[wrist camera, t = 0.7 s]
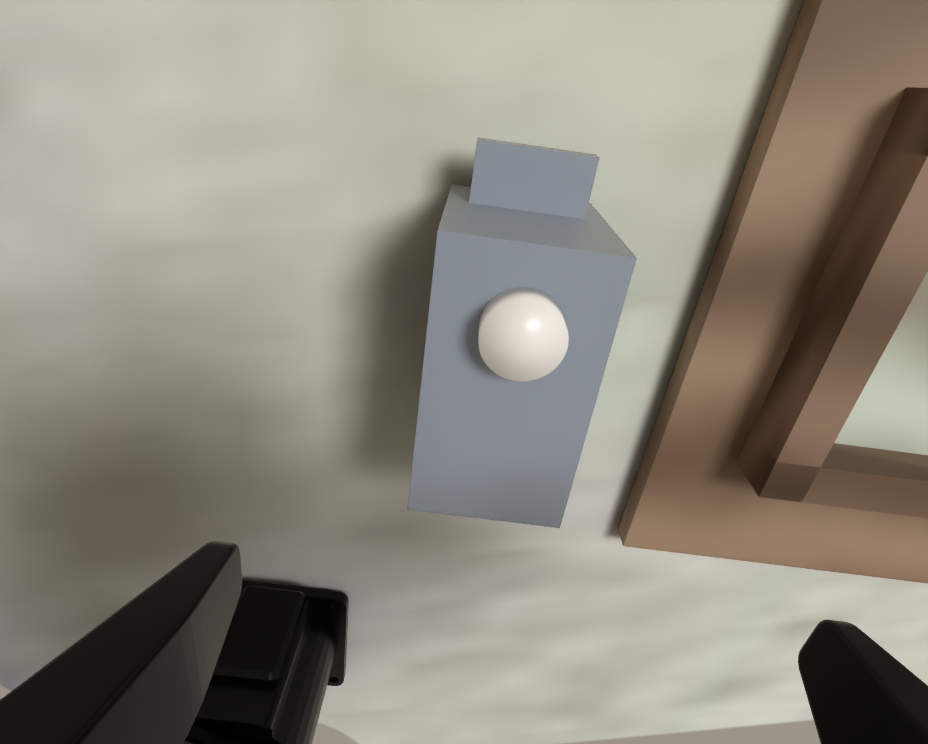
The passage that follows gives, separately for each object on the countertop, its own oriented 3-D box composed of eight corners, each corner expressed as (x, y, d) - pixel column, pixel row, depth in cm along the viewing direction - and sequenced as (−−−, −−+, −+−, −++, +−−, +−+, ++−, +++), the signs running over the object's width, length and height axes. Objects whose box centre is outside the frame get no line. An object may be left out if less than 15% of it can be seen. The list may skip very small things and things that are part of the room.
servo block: (533, 449, 22) (551, 589, 16) (422, 435, 22) (399, 570, 16) (602, 149, 17) (668, 189, 11) (458, 128, 17) (443, 157, 11)
